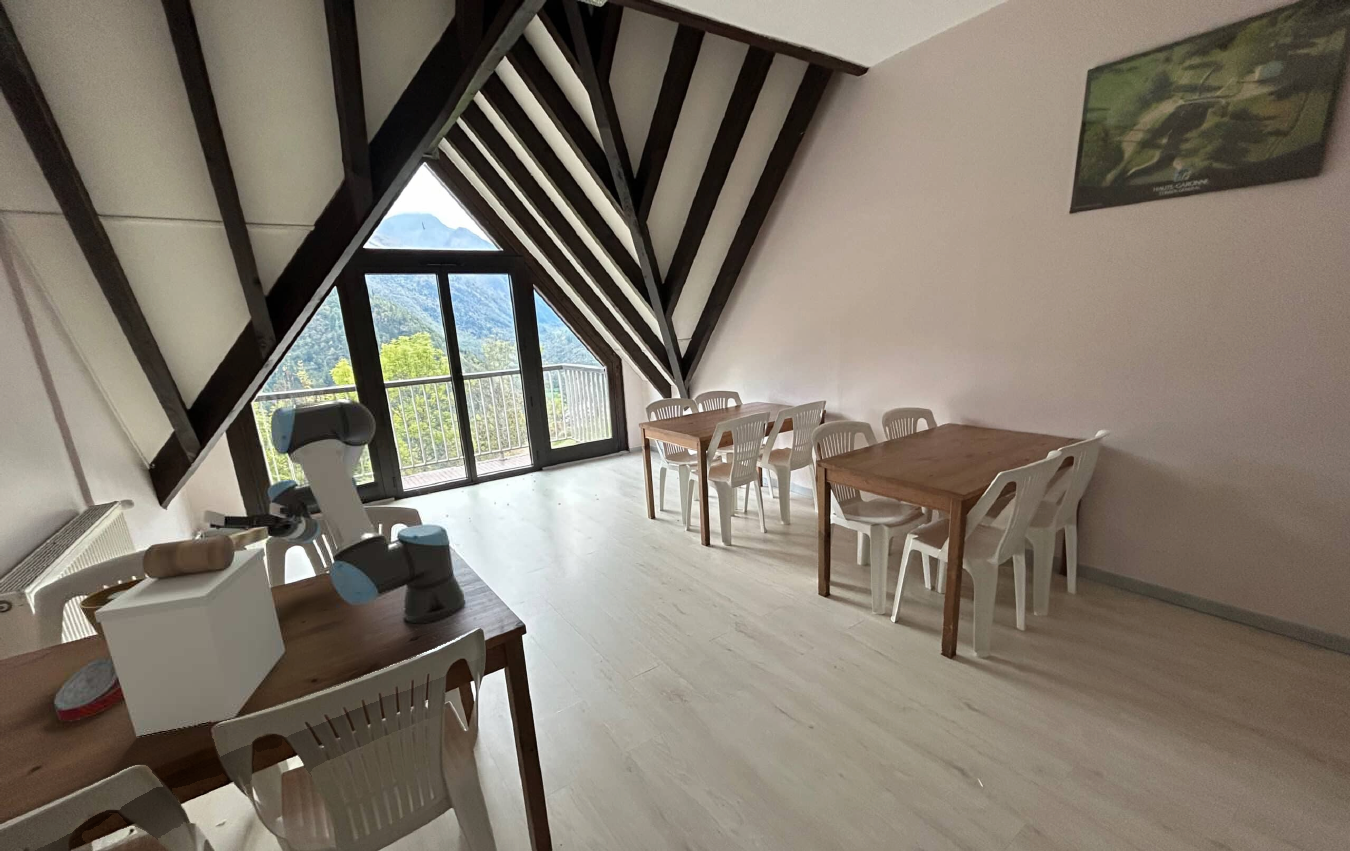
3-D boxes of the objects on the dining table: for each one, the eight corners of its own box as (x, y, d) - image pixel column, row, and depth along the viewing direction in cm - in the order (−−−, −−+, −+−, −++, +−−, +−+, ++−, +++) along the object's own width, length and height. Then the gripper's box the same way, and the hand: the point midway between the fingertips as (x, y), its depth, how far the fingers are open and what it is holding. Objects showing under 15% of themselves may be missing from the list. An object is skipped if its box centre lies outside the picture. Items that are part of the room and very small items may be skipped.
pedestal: (237, 717, 103) (204, 595, 97) (133, 738, 98) (93, 612, 93) (287, 650, 123) (263, 547, 118) (204, 665, 119) (175, 559, 114)
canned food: (132, 713, 112) (134, 683, 108) (61, 741, 103) (61, 709, 100) (117, 676, 116) (118, 645, 113) (48, 700, 108) (47, 668, 104)
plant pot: (197, 634, 132) (182, 578, 129) (122, 672, 118) (103, 610, 115) (159, 627, 136) (143, 572, 133) (83, 663, 122) (63, 603, 119)
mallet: (215, 572, 104) (212, 538, 104) (144, 582, 102) (141, 547, 102) (289, 542, 134) (286, 516, 134) (235, 549, 131) (232, 522, 131)
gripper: (333, 531, 146) (296, 519, 126) (230, 544, 140) (175, 535, 120) (333, 505, 148) (298, 490, 128) (232, 517, 142) (179, 503, 122)
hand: (239, 512), depth 124 cm, fingers open, 13 cm apart
